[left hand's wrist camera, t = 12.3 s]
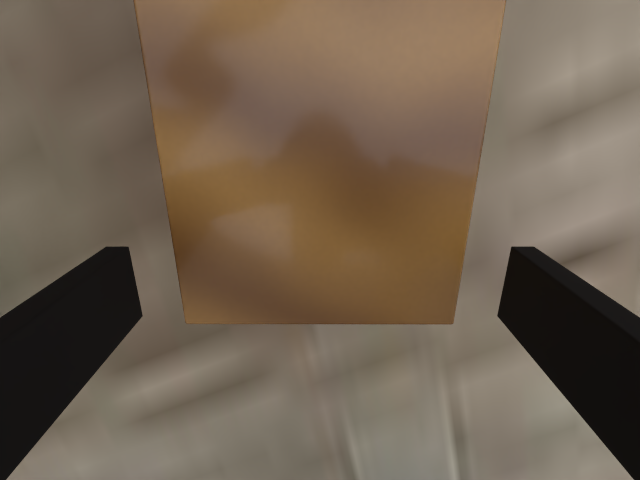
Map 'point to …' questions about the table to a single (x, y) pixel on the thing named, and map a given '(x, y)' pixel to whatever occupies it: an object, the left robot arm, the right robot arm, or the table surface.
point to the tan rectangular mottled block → (319, 153)
